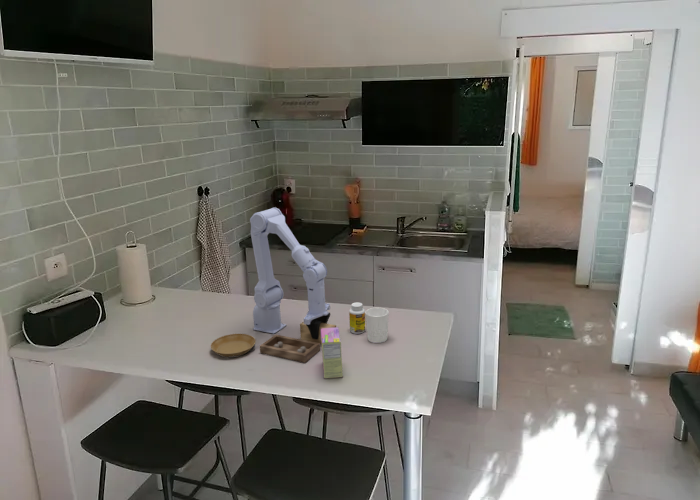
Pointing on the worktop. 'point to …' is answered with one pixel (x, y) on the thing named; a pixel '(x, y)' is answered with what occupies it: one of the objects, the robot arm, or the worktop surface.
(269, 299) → the robot arm
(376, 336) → the white cup
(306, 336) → the wooden block
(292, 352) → the walnut peg frame
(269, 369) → the worktop surface
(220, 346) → the plant saucer
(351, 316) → the supplement bottle
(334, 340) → the box
